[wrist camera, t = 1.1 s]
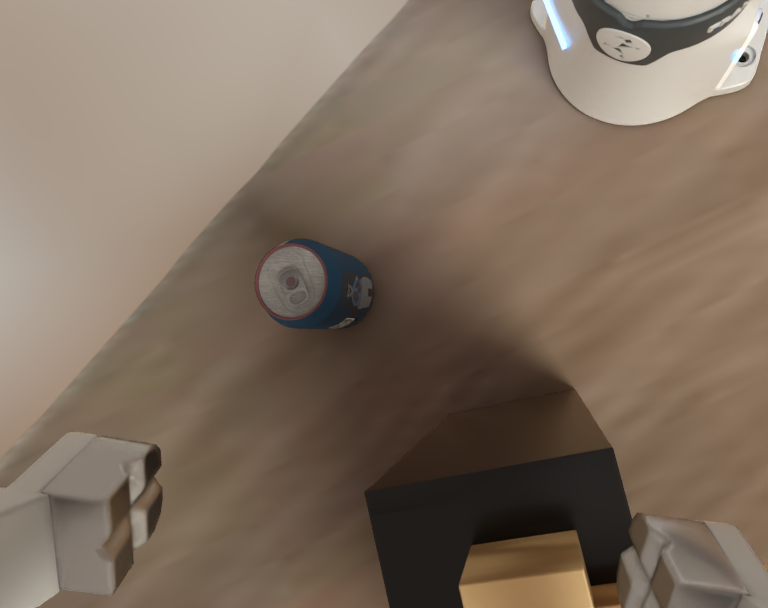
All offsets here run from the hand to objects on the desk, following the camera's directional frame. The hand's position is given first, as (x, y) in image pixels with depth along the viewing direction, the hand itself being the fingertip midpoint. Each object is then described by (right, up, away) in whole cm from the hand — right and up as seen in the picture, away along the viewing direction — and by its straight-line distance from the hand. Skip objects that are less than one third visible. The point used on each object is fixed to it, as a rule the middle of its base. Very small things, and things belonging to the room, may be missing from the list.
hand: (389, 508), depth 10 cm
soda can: (-4, +5, +45) cm, 45 cm away
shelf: (+12, -11, +40) cm, 43 cm away
